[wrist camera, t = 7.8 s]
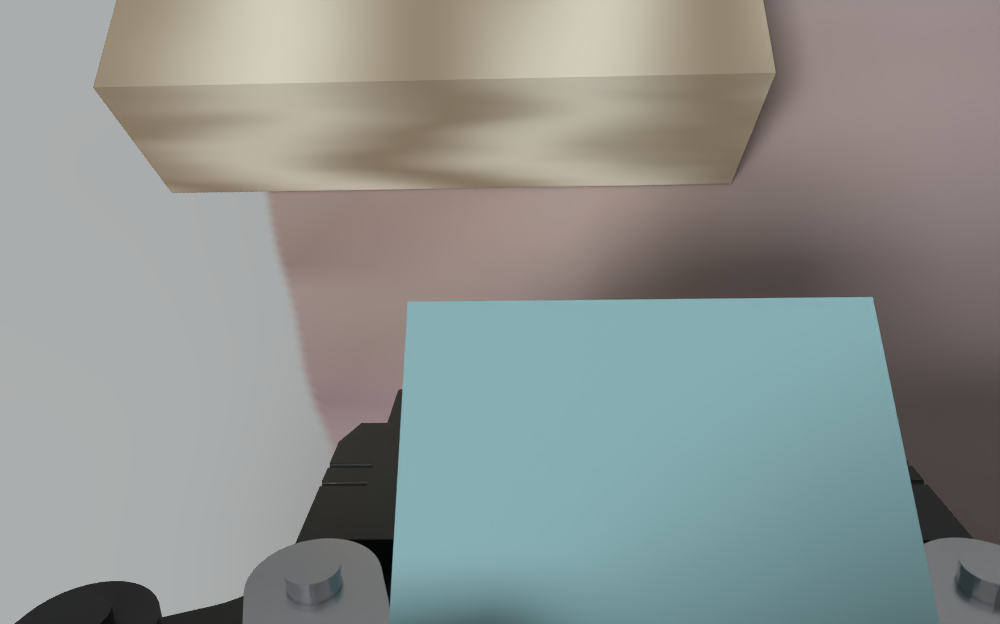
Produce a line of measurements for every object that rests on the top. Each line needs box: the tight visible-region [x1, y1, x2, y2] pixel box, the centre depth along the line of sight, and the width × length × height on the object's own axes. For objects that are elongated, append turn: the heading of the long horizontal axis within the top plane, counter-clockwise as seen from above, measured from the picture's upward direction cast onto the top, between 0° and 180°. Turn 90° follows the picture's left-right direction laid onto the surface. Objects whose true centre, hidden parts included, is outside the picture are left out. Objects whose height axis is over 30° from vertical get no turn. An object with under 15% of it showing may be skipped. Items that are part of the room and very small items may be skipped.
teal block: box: [389, 297, 940, 624], centre depth 11 cm, size 4×4×10 cm
